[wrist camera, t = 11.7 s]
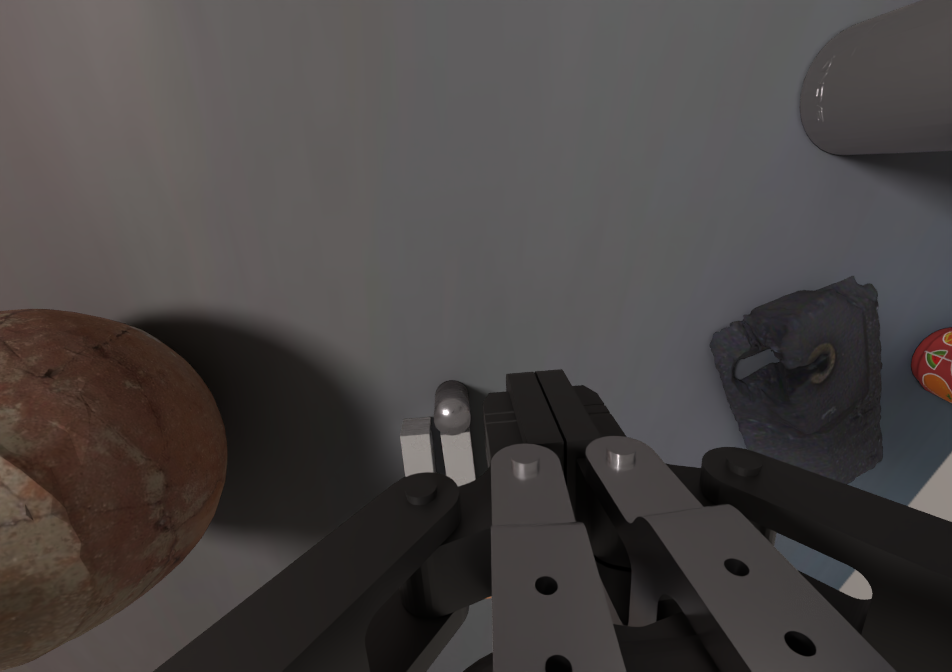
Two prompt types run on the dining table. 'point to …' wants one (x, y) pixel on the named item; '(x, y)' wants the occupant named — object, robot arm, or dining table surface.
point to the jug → (95, 472)
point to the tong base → (447, 419)
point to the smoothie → (935, 363)
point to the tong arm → (459, 457)
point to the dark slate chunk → (810, 379)
